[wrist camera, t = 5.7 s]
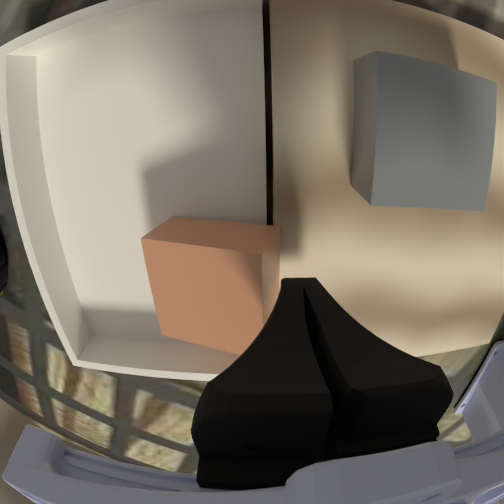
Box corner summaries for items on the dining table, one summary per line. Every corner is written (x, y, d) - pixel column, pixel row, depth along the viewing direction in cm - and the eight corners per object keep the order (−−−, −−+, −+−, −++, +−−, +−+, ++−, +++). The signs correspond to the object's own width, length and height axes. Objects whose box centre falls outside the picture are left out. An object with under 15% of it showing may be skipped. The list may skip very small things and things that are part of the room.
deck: (476, 325, 18) (489, 343, 16) (271, 343, 18) (272, 368, 16) (526, 63, 9) (548, 65, 8) (268, 1, 10) (270, -14, 8)
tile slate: (452, 191, 12) (484, 211, 9) (350, 185, 12) (370, 205, 9) (460, 81, 9) (496, 82, 7) (353, 60, 9) (376, 50, 7)
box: (266, 343, 18) (267, 381, 15) (91, 334, 19) (73, 365, 16) (261, 1, 10) (262, -24, 7) (35, 50, 10) (-2, 47, 8)
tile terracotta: (278, 323, 15) (262, 359, 13) (186, 305, 16) (161, 334, 14) (280, 226, 13) (261, 254, 10) (172, 216, 14) (140, 238, 12)
